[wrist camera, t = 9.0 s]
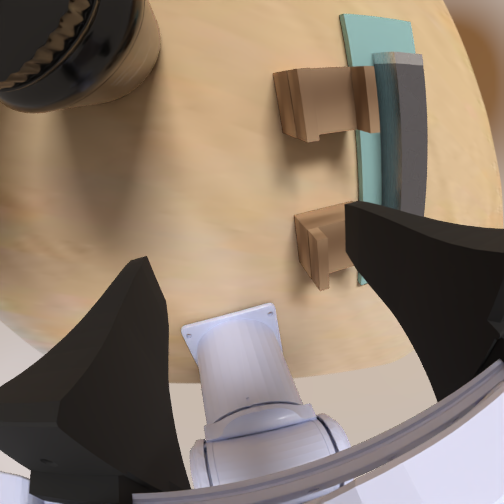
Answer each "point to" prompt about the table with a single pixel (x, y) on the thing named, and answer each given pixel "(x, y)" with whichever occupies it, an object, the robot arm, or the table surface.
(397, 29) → the mat
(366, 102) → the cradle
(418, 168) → the rail
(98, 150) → the table surface
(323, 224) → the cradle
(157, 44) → the supplement bottle
